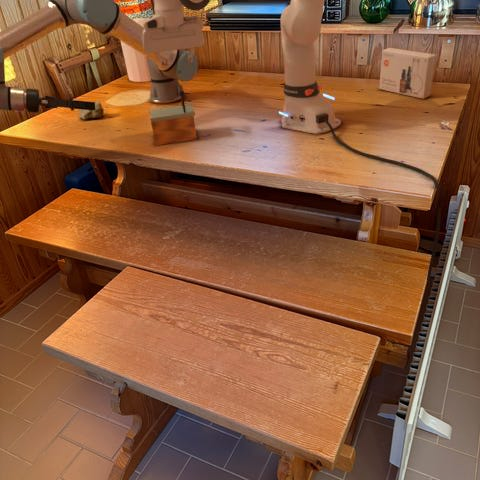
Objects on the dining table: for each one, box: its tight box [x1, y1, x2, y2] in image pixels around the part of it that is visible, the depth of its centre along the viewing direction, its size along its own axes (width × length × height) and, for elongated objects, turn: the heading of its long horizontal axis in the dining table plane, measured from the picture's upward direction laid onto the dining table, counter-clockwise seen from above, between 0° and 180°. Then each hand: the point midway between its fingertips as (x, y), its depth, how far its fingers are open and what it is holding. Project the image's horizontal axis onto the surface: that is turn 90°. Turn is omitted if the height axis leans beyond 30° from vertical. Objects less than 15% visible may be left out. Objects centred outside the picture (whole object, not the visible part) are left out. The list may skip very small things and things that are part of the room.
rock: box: [78, 101, 105, 121], centre depth 195 cm, size 11×6×10 cm
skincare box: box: [378, 47, 437, 100], centre depth 184 cm, size 21×6×16 cm, turn 40°
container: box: [119, 17, 151, 83], centre depth 235 cm, size 21×21×28 cm
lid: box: [149, 84, 196, 123], centre depth 162 cm, size 16×9×9 cm, turn 101°
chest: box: [150, 116, 198, 146], centre depth 167 cm, size 15×9×9 cm, turn 101°
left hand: (93, 106), depth 160 cm, fingers open, 13 cm apart
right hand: (176, 63), depth 156 cm, fingers open, 8 cm apart
